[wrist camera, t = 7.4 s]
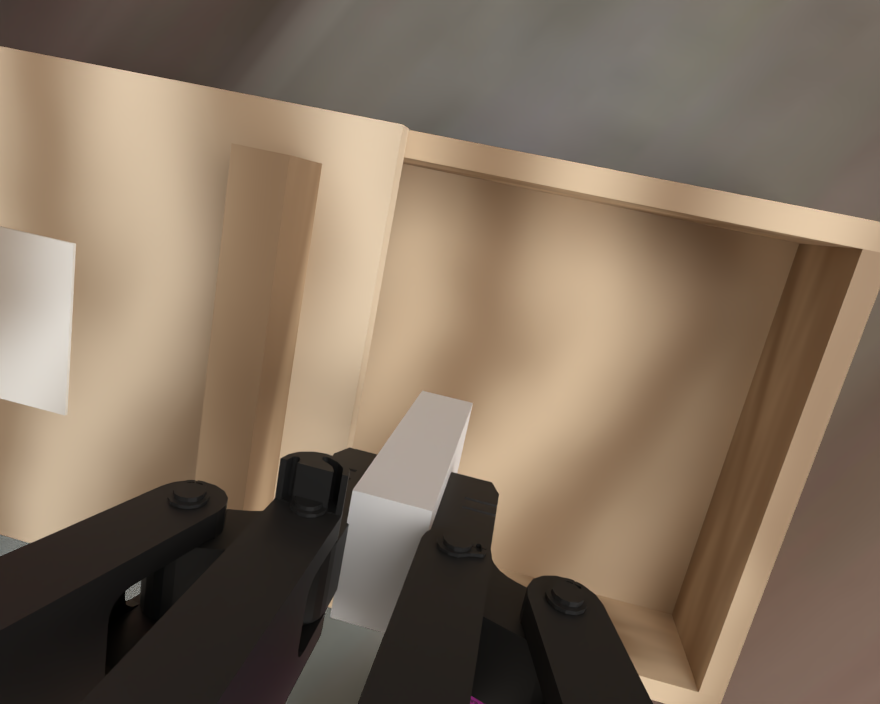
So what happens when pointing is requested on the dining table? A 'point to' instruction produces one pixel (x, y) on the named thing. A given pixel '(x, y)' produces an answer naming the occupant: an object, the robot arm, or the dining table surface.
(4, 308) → the lid
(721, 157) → the dining table surface
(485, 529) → the robot arm
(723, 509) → the wooden box
